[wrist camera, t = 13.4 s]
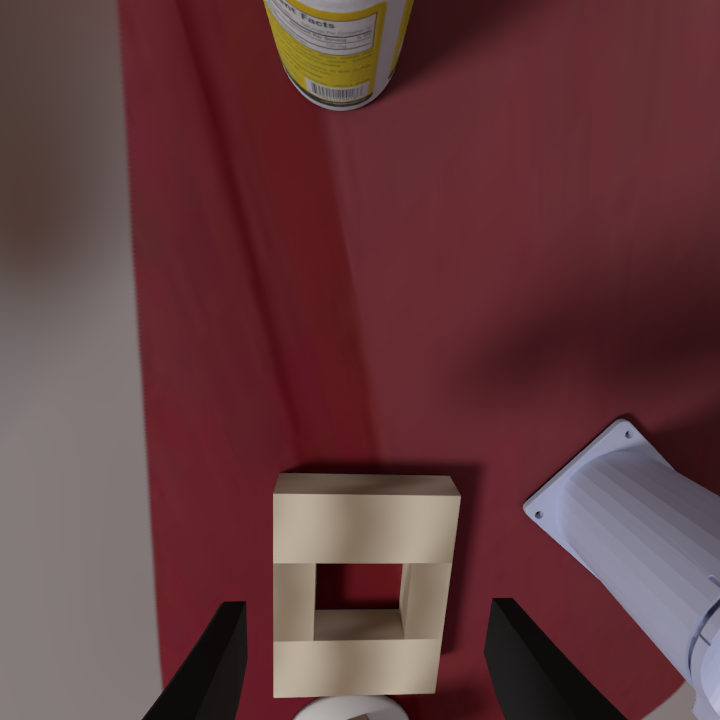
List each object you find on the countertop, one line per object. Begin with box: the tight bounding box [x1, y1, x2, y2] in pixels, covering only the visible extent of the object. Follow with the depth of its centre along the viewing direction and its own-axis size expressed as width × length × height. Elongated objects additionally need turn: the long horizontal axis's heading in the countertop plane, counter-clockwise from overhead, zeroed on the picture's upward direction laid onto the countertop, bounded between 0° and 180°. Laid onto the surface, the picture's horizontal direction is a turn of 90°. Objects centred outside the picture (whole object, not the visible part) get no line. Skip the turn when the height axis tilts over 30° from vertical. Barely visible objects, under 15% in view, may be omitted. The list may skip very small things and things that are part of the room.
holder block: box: [273, 473, 461, 698], centre depth 21 cm, size 10×14×2 cm
